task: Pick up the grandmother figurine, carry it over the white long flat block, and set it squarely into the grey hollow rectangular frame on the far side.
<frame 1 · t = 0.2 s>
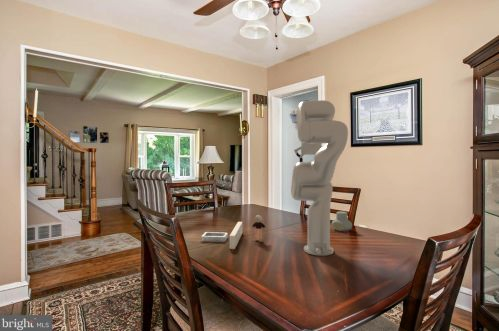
hand: (311, 165, 141), 36 cm above the table, tool pointing down, fingers open, 9 cm apart
grandmother figurine: (258, 241, 134), on the table
grey hollow rectangular frame: (214, 239, 136), on the table
white long flat block: (236, 240, 135), on the table
air freshener: (341, 230, 153), on the table
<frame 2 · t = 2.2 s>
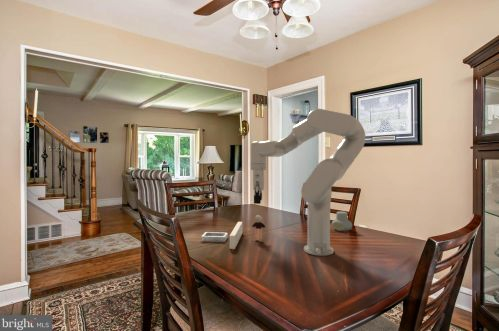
hand: (258, 201, 133), 19 cm above the table, tool pointing down, fingers open, 9 cm apart
nothing on the table moved.
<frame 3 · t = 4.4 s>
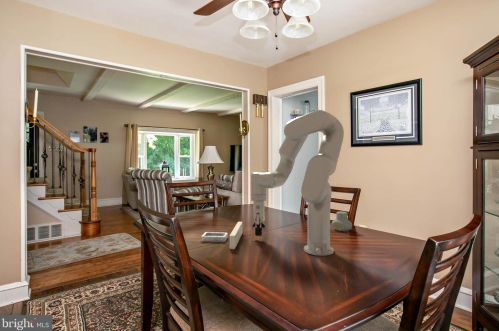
hand: (258, 234, 133), 3 cm above the table, tool pointing down, fingers closed on grandmother figurine, 3 cm apart
grandmother figurine: (258, 241, 134), on the table, touching gripper
everything else where it was.
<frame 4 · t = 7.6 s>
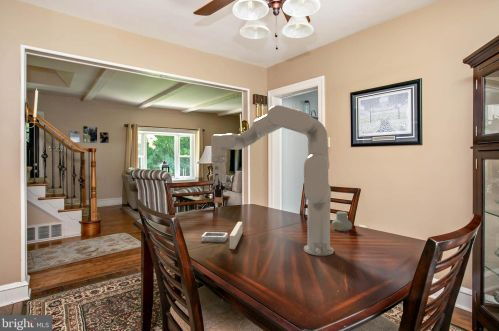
hand: (219, 196, 135), 22 cm above the table, tool pointing down, fingers closed on grandmother figurine, 3 cm apart
grandmother figurine: (219, 203, 135), point 18 cm above the table, touching gripper
everything else where it was.
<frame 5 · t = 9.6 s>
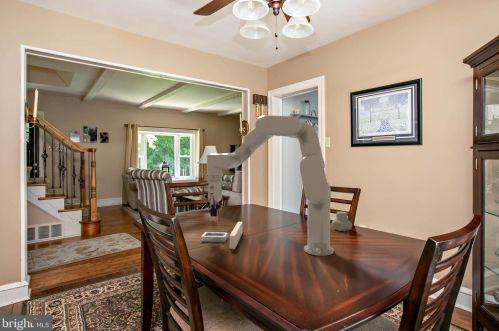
hand: (214, 214, 135), 12 cm above the table, tool pointing down, fingers closed on grandmother figurine, 3 cm apart
grandmother figurine: (214, 221, 136), point 9 cm above the table, touching gripper
everything else where it was.
when the fingers open (4 cm above the table, at t = 11.3 s): grandmother figurine drops 1 cm, resting in grey hollow rectangular frame.
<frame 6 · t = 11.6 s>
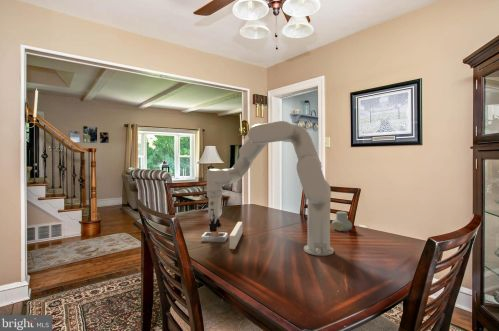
hand: (214, 229, 136), 5 cm above the table, tool pointing down, fingers open, 6 cm apart
grandmother figurine: (215, 239, 136), resting in grey hollow rectangular frame
everything else where it was.
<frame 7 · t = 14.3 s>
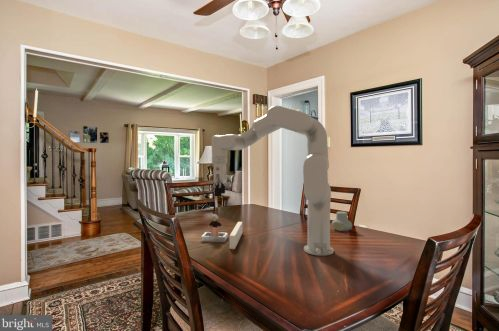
hand: (220, 194, 136), 22 cm above the table, tool pointing down, fingers open, 9 cm apart
nothing on the table moved.
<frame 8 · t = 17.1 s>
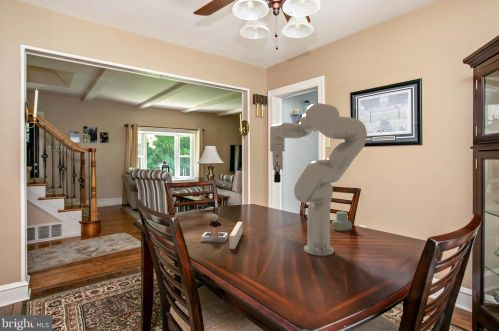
hand: (277, 181, 142), 28 cm above the table, tool pointing down, fingers open, 9 cm apart
nothing on the table moved.
at the end: grandmother figurine 0.4 cm off-centre on the grey hollow rectangular frame, point 0.0 cm above the grey hollow rectangular frame's base; grandmother figurine tilted 0°; the gripper is holding nothing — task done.
